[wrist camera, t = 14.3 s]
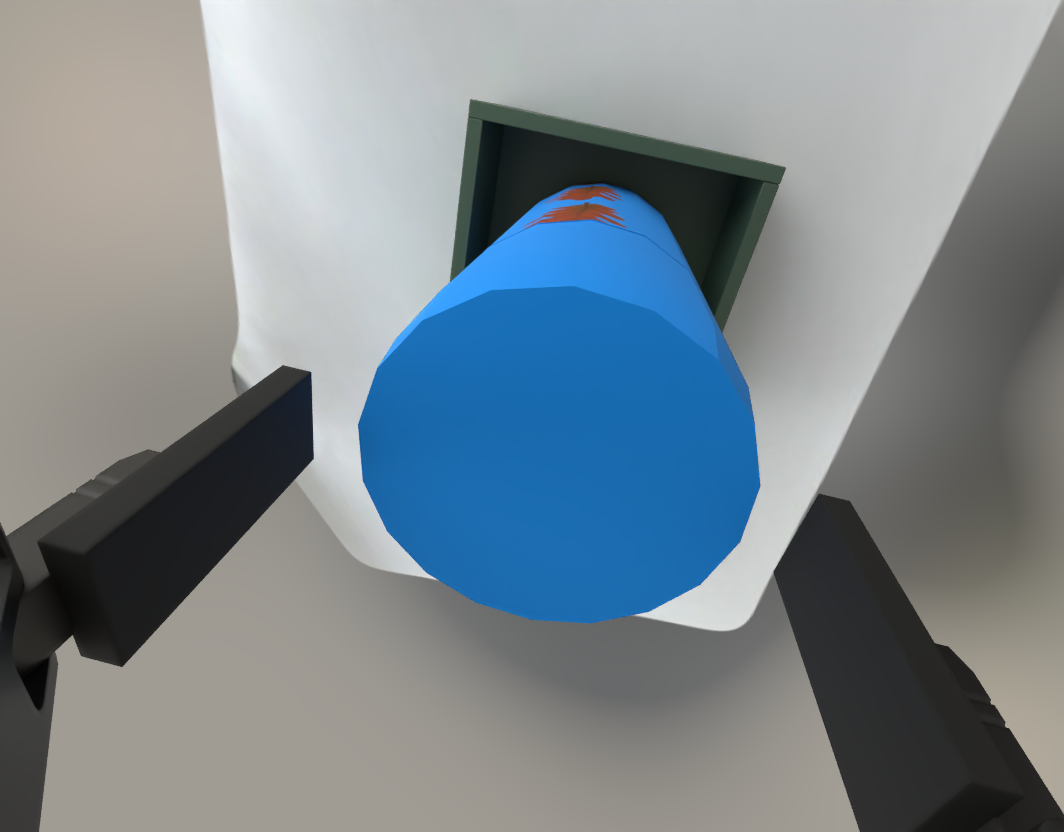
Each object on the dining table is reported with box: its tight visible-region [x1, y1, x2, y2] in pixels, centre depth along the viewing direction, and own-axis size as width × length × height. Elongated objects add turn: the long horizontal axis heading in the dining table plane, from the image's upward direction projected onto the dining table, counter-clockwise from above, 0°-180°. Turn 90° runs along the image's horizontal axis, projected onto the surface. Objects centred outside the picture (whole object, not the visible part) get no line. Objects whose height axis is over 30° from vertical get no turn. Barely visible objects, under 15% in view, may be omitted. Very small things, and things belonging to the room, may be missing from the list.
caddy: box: [450, 99, 786, 332], centre depth 33 cm, size 16×16×7 cm
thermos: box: [358, 182, 760, 623], centre depth 25 cm, size 11×11×25 cm
